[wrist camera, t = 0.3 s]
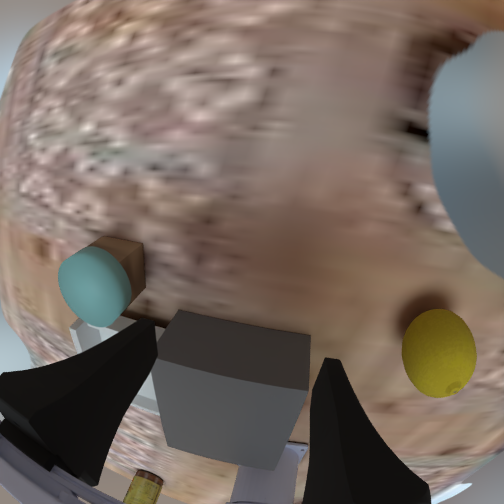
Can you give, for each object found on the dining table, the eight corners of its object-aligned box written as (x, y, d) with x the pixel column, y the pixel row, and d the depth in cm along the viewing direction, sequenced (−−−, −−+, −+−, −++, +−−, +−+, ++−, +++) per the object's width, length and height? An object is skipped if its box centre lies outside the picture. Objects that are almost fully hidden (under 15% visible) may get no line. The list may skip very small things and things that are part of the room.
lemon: (379, 329, 21) (398, 407, 14) (424, 277, 19) (467, 347, 12) (420, 353, 22) (444, 424, 14) (463, 308, 19) (503, 374, 12)
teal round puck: (135, 320, 21) (122, 336, 19) (80, 302, 21) (66, 315, 20) (127, 253, 18) (111, 266, 17) (69, 241, 19) (52, 251, 17)
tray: (191, 410, 28) (180, 436, 25) (113, 383, 29) (98, 405, 26) (187, 333, 23) (170, 363, 20) (91, 305, 24) (69, 327, 21)
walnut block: (145, 287, 24) (125, 309, 20) (108, 277, 24) (85, 297, 21) (143, 243, 22) (119, 262, 19) (103, 236, 22) (77, 252, 19)
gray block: (280, 426, 28) (273, 470, 23) (185, 406, 30) (167, 446, 24) (310, 335, 23) (308, 391, 17) (178, 309, 24) (148, 355, 19)
